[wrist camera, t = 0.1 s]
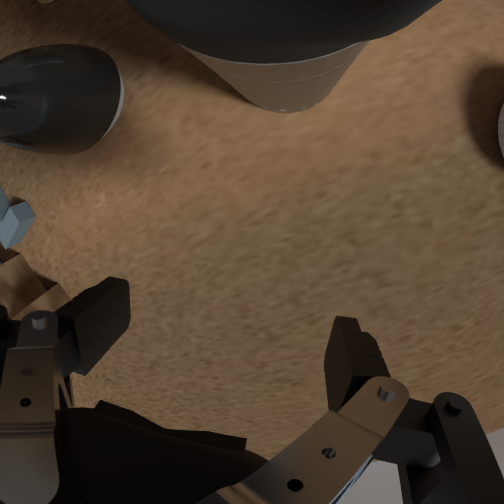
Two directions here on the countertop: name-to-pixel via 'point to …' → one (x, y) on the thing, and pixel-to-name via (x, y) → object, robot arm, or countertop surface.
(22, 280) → the t block
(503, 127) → the ramekin
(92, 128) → the roly-poly penguin toy
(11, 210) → the t socket
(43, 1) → the vase
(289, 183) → the countertop surface
